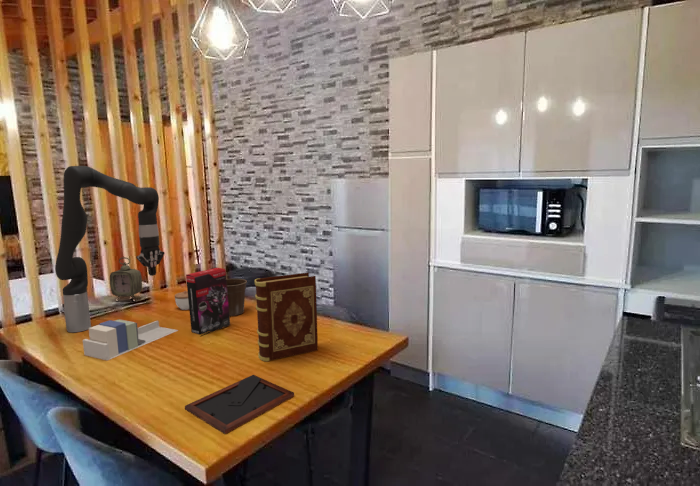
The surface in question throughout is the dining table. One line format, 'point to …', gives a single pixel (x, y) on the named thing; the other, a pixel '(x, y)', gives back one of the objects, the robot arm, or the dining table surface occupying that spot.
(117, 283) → the tabletop clock
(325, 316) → the dining table surface
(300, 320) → the decorative book
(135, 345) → the sage book
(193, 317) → the graphics card box
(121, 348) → the navy book
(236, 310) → the plant pot
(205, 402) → the picture frame
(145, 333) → the shelf board
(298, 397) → the dining table surface
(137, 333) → the bookend
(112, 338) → the ivory book
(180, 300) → the lidded jar
